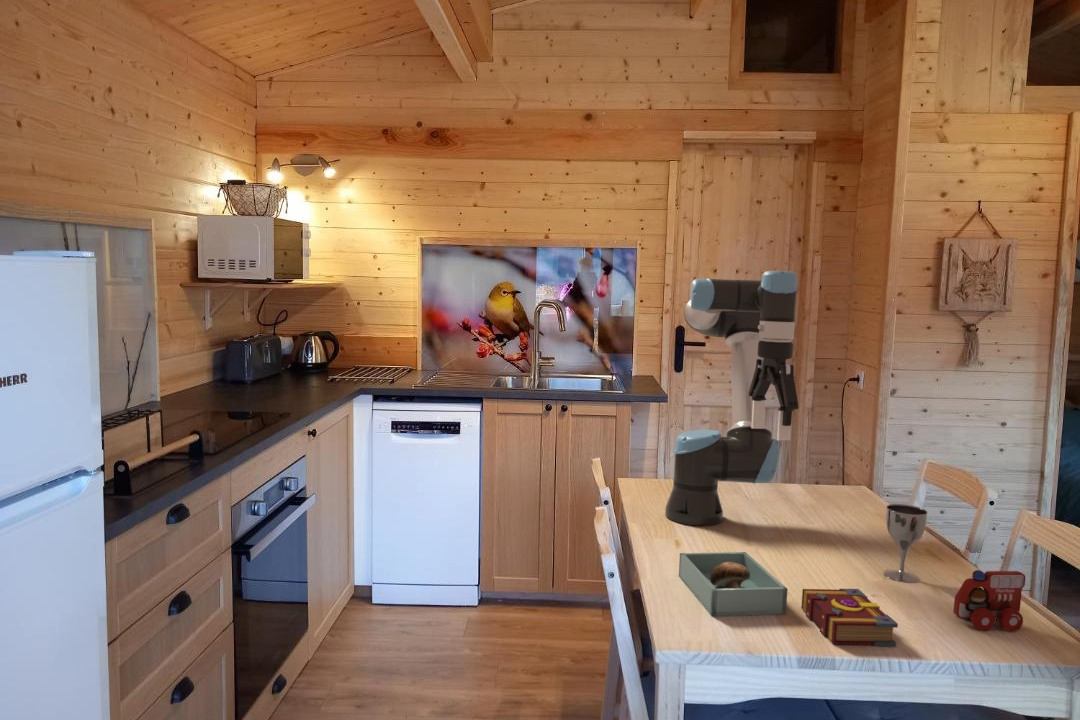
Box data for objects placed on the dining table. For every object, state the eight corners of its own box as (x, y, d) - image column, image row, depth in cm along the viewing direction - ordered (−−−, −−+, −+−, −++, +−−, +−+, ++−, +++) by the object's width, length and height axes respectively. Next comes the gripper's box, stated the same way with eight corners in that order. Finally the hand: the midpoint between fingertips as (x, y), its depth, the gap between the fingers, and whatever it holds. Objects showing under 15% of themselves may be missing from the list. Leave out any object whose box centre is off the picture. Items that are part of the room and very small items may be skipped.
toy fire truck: (943, 614, 144) (947, 562, 143) (1006, 616, 144) (1011, 563, 143) (964, 631, 137) (969, 576, 136) (1030, 632, 137) (1036, 578, 136)
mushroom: (753, 586, 144) (742, 554, 147) (713, 597, 146) (703, 565, 149) (757, 592, 151) (747, 561, 154) (719, 602, 153) (709, 572, 156)
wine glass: (918, 572, 165) (924, 506, 164) (924, 585, 158) (930, 516, 156) (879, 567, 168) (884, 502, 166) (883, 580, 160) (888, 511, 159)
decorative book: (831, 647, 129) (833, 619, 129) (797, 607, 145) (798, 582, 145) (896, 648, 130) (898, 620, 129) (854, 608, 146) (856, 583, 145)
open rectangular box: (678, 576, 159) (679, 553, 158) (744, 574, 161) (745, 552, 160) (711, 616, 140) (713, 590, 139) (785, 614, 142) (787, 588, 141)
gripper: (737, 336, 179) (732, 423, 181) (785, 344, 154) (778, 445, 157) (767, 337, 180) (762, 423, 182) (819, 345, 156) (812, 445, 158)
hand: (770, 434), depth 169 cm, fingers open, 13 cm apart
